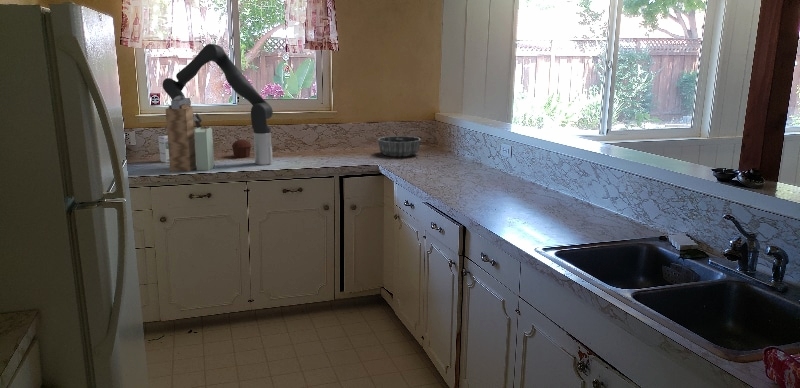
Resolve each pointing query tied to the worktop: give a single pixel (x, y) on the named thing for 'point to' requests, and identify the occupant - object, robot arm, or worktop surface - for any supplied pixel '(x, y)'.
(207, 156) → the pale green tall block
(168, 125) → the jenga block tower
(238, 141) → the muffin
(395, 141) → the bundt pan
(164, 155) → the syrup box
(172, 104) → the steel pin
